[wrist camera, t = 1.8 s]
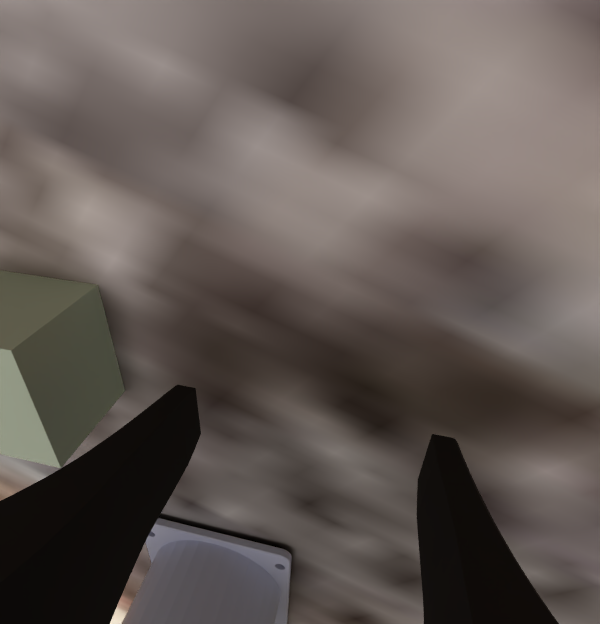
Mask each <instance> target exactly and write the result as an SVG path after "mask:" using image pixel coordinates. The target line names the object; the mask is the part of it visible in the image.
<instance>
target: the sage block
mask: <svg viewBox="0 0 600 624" xmlns="http://www.w3.org/2000/svg"><path fill="white" fill-rule="evenodd" d="M124 391H125V389H124V385H123V381H122V377H121V373H120V370H119V366H118V362H117V358H116V354H115V350H114V346H113V342H112V338H111V334H110V330H109V327H108V323H107V319H106V315H105V311H104V307H103V303H102V299H101V295H100V291H99V287H98V285H96V284H89V283H82V282H75V281H69V280H62V279H55V278H48V277H42V276H35V275H28V274H22V273H15V272H8V271H1V270H0V454H2V455H6V456H10V457H15V458H19V459H23V460H28V461H32V462H36V463H41V464H45V465H50V466H54V467H58V468H61V467H62V466H63V465H64V464H65V463H66V461H67V460H68V459H69V458H70V457H71V455H72V454H73V453H74V452H75V451H76V449H77V448H78V447H79V446H80V444H81V443H82V442H83V441H84V440H85V438H86V437H87V436H88V435H89V434H90V432H91V431H92V430H93V429H94V428H95V426H96V425H97V424H98V423H99V422H100V420H101V419H102V418H103V417H104V416H105V414H106V413H107V412H108V411H109V410H110V408H111V407H112V406H113V405H114V403H115V402H116V401H117V400H118V399H119V397H120V396H121V395H122V394H123V393H124Z"/></svg>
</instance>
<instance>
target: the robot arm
mask: <svg viewBox="0 0 600 624" xmlns="http://www.w3.org/2000/svg"><path fill="white" fill-rule="evenodd" d="M200 434H201V431H200V422H199V414H198V406H197V397H196V389H195V388H192V387H186V386H181V385H176V386H175V387H174V388H172V389H171V390H170V391H168V392H167V393H166V394H165V395H163V396H162V397H161V398H160V399H158V400H157V401H156V402H155V403H153V404H152V405H151V406H149V407H148V408H147V409H146V410H144V411H143V412H142V413H141V414H139V415H138V416H137V417H135V418H134V419H133V420H131V421H130V422H129V423H127V424H126V425H125V426H124V427H122V428H121V429H120V430H118V431H117V432H115V433H114V434H113V435H111V436H110V437H108V438H107V439H106V440H104V441H103V442H101V443H100V444H98V445H97V446H96V447H94V448H93V449H91V450H90V451H88V452H87V453H85V454H84V455H82V456H81V457H79V458H78V459H76V460H74V461H73V462H71V463H70V464H68V465H66V466H65V467H63V468H61V469H60V470H58V471H56V472H55V473H53V474H51V475H49V476H48V477H46V478H44V479H42V480H40V481H38V482H36V483H34V484H33V485H31V486H29V487H27V488H25V489H23V490H21V491H19V492H17V493H16V494H14V495H12V496H10V497H8V498H6V499H4V500H1V501H0V624H110V621H111V619H112V616H113V614H114V612H115V609H116V607H117V604H118V602H119V600H120V597H121V595H122V593H123V590H124V588H125V586H126V583H127V581H128V579H129V576H130V574H131V572H132V570H133V567H134V565H135V563H136V561H137V559H138V556H139V554H140V552H141V550H142V547H143V545H144V543H145V542H146V545H147V549H148V552H149V556H150V559H151V563H152V564H151V566H150V568H149V570H148V572H147V574H146V576H145V578H144V580H143V582H142V584H141V586H140V588H139V590H138V592H137V594H136V596H135V598H134V600H133V602H132V604H131V606H130V608H129V610H128V612H127V614H126V616H125V618H124V620H123V622H122V624H287V623H288V607H289V591H290V575H291V560H292V556H291V554H290V553H289V552H288V551H287V550H285V549H282V548H278V547H274V546H270V545H266V544H261V543H257V542H253V541H249V540H245V539H241V538H237V537H233V536H229V535H225V534H221V533H217V532H213V531H209V530H205V529H201V528H197V527H193V526H189V525H185V524H181V523H177V522H173V521H169V520H165V519H161V518H158V517H159V515H160V514H161V512H162V510H163V508H164V507H165V505H166V503H167V501H168V500H169V498H170V496H171V494H172V492H173V491H174V489H175V487H176V485H177V484H178V482H179V480H180V478H181V476H182V475H183V473H184V471H185V469H186V467H187V465H188V463H189V461H190V459H191V456H192V454H193V452H194V449H195V447H196V444H197V442H198V439H199V437H200ZM417 525H418V539H419V552H420V564H421V577H422V590H423V605H424V624H559V623H558V622H557V621H556V619H555V618H554V617H553V615H552V614H551V612H550V611H549V609H548V608H547V606H546V605H545V604H544V602H543V601H542V599H541V598H540V596H539V595H538V593H537V592H536V590H535V589H534V587H533V586H532V584H531V583H530V581H529V580H528V578H527V577H526V575H525V574H524V572H523V570H522V569H521V567H520V566H519V564H518V562H517V561H516V559H515V557H514V556H513V554H512V552H511V551H510V549H509V547H508V545H507V544H506V542H505V540H504V538H503V537H502V535H501V533H500V532H499V530H498V528H497V526H496V524H495V522H494V520H493V519H492V517H491V515H490V513H489V511H488V509H487V507H486V505H485V503H484V501H483V499H482V497H481V495H480V493H479V491H478V489H477V487H476V485H475V483H474V480H473V478H472V476H471V474H470V472H469V469H468V467H467V465H466V462H465V460H464V458H463V455H462V453H461V450H460V448H459V445H458V443H457V441H456V440H455V438H450V437H445V436H440V435H435V434H432V436H431V440H430V443H429V446H428V449H427V452H426V455H425V459H424V462H423V465H422V468H421V471H420V474H419V478H418V491H417Z"/></svg>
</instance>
